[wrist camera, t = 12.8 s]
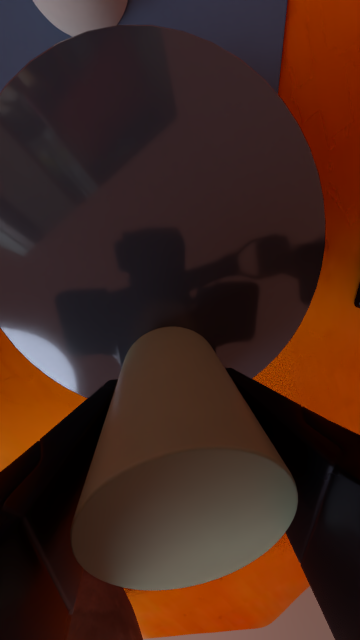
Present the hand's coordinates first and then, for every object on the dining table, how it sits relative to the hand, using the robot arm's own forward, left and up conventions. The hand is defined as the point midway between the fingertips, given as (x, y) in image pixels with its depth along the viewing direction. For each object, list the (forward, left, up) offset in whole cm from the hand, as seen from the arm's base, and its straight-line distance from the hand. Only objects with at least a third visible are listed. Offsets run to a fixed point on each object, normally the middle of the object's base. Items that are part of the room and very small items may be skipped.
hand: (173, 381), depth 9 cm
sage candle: (0, 0, -1) cm, 1 cm away
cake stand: (0, -5, -6) cm, 8 cm away
